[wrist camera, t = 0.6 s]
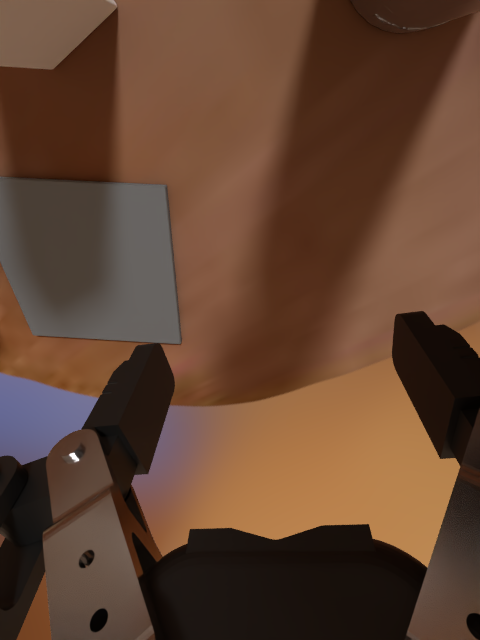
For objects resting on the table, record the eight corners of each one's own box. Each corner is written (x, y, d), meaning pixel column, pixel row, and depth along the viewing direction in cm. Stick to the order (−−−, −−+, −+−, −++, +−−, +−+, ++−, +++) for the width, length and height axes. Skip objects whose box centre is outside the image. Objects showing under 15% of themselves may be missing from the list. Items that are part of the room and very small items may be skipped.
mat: (-33, 175, 26) (-38, 176, 25) (166, 185, 25) (165, 187, 25) (36, 331, 35) (33, 335, 35) (181, 340, 35) (180, 344, 34)
